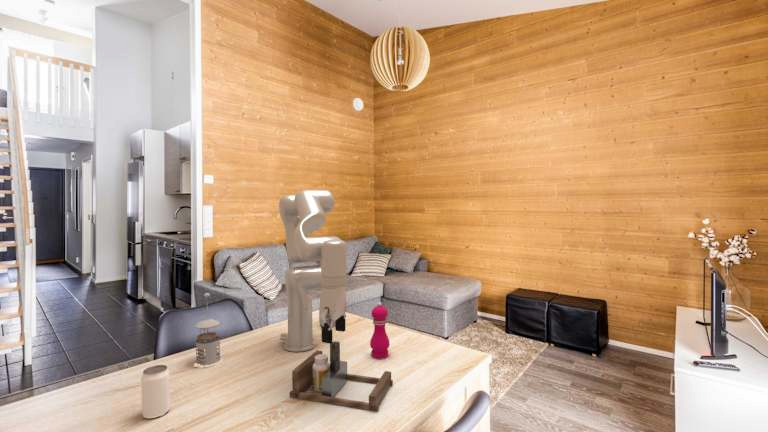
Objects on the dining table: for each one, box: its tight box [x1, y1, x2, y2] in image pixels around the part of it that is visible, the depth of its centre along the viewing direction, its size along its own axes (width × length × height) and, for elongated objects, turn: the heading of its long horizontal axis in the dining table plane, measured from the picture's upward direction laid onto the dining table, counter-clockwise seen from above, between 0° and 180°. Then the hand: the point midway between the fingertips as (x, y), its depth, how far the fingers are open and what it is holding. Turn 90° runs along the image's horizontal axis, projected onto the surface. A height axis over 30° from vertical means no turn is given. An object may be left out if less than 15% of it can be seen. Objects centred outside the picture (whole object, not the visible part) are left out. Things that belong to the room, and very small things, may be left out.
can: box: [140, 364, 171, 417], centre depth 101 cm, size 6×6×12 cm
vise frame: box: [288, 350, 394, 413], centre depth 112 cm, size 27×16×8 cm, turn 73°
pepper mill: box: [369, 301, 390, 360], centre depth 138 cm, size 7×7×20 cm
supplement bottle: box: [312, 353, 330, 393], centre depth 114 cm, size 5×5×10 cm
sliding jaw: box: [321, 340, 348, 397], centre depth 113 cm, size 3×12×14 cm, turn 163°
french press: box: [194, 292, 222, 366], centre depth 134 cm, size 10×12×25 cm
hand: (333, 336), depth 113 cm, fingers open, 9 cm apart
